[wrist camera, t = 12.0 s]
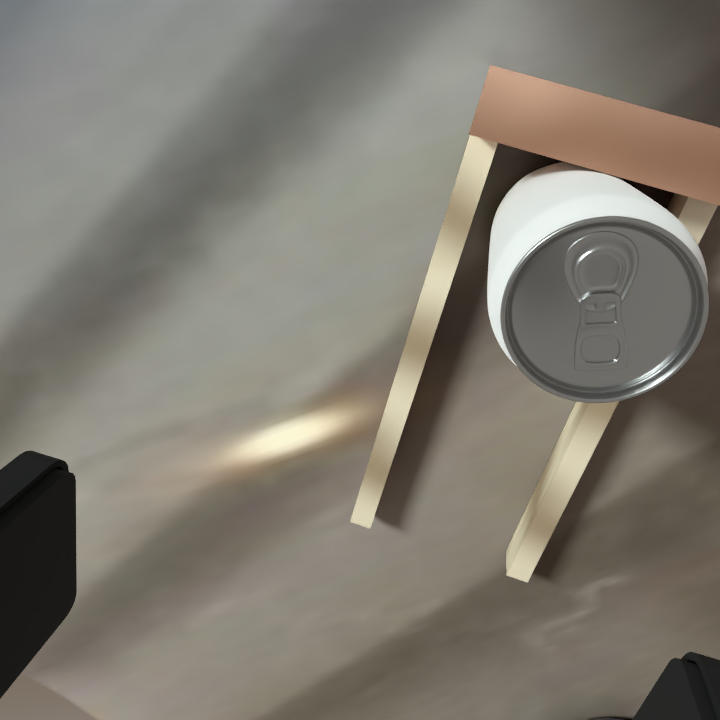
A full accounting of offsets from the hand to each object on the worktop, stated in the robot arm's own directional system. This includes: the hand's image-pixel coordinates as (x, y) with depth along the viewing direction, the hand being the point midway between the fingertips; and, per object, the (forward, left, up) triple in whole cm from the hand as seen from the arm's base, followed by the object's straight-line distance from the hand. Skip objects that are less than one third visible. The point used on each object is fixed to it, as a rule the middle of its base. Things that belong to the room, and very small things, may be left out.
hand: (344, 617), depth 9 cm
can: (-3, +5, -23) cm, 23 cm away
